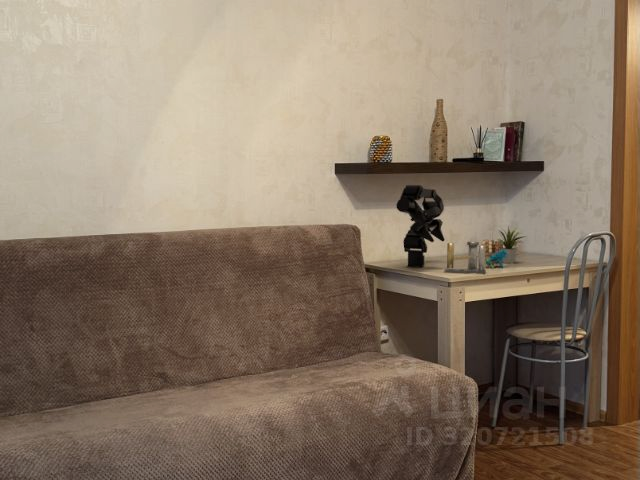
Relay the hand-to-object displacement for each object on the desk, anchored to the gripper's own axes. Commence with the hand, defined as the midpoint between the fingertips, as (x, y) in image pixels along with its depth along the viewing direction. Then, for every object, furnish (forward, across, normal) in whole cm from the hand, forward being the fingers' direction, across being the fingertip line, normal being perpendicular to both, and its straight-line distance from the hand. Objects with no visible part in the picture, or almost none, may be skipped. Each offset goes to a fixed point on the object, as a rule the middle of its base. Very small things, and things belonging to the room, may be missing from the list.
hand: (438, 241), depth 321 cm
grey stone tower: (+17, +8, -1) cm, 19 cm away
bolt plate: (+17, +1, 0) cm, 17 cm away
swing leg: (+12, +5, +2) cm, 13 cm away
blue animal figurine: (+18, +25, -2) cm, 31 cm away
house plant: (+16, +43, -2) cm, 46 cm away
